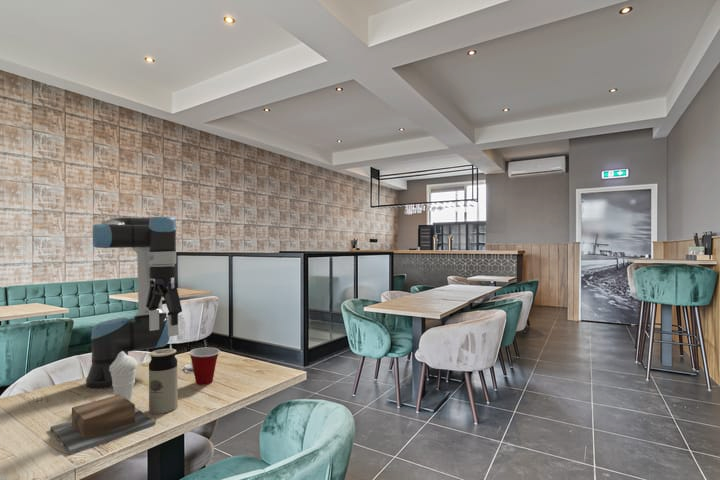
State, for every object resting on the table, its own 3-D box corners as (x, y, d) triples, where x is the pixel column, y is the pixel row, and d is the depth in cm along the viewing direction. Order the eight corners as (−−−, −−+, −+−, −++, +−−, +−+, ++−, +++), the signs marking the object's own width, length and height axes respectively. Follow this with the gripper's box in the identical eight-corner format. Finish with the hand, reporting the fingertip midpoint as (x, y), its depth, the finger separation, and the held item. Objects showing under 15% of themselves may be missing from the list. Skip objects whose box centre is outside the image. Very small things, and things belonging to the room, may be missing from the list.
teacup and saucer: (181, 370, 158) (181, 360, 158) (200, 366, 164) (200, 356, 164) (188, 375, 152) (188, 365, 152) (208, 370, 157) (208, 360, 157)
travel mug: (164, 402, 124) (164, 347, 125) (183, 405, 121) (182, 349, 122) (143, 412, 117) (142, 354, 117) (162, 416, 114) (161, 356, 114)
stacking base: (50, 430, 106) (50, 408, 106) (129, 406, 121) (129, 387, 122) (70, 454, 93) (69, 430, 93) (155, 424, 109) (155, 403, 109)
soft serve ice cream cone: (143, 395, 130) (143, 349, 130) (121, 405, 122) (121, 356, 122) (125, 393, 133) (125, 347, 133) (102, 402, 125) (102, 353, 125)
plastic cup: (209, 388, 136) (209, 355, 136) (182, 386, 138) (182, 353, 138) (225, 378, 146) (225, 347, 147) (200, 376, 148) (200, 346, 149)
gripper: (134, 265, 125) (135, 329, 124) (168, 267, 109) (168, 340, 109) (158, 264, 131) (158, 326, 130) (193, 265, 115) (194, 335, 114)
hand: (163, 332), depth 119 cm, fingers open, 13 cm apart
